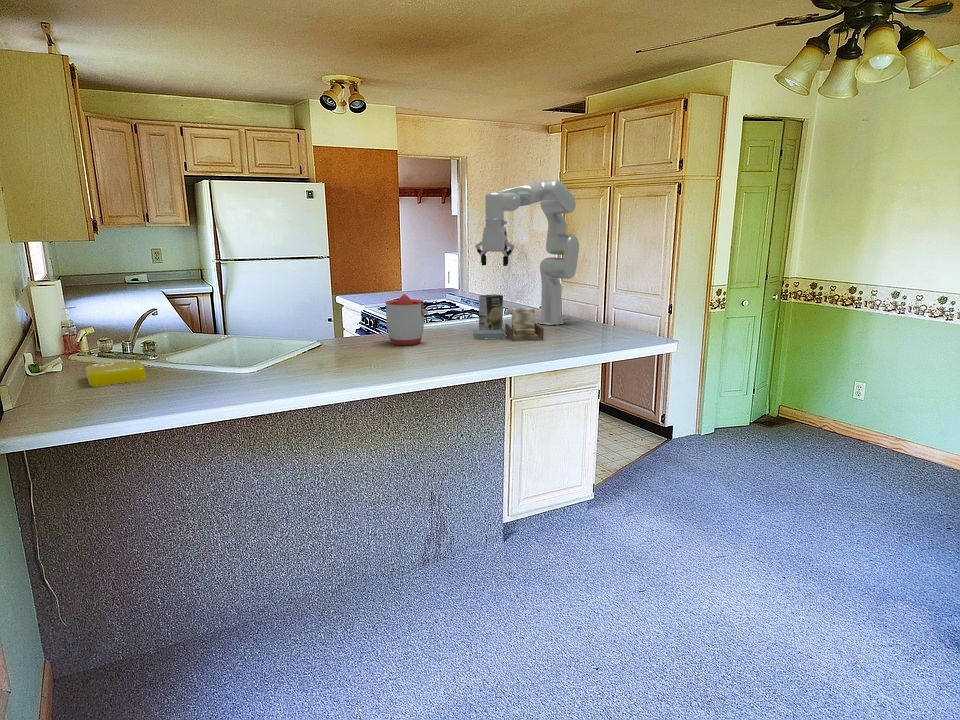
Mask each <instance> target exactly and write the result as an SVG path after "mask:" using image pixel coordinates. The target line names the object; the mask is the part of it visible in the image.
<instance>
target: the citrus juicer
mask: <svg viewBox="0 0 960 720" xmlns="http://www.w3.org/2000/svg"><path fill="white" fill-rule="evenodd" d="M384 303H385V316H386V318H385V320H386V329H387V330H386V331H387V333H388V336H389V337H388V338H389V340H390V342H391V344H393V345H395V344H396V345H395V346H399V345H401V346H402V345H403V346H415V345H416V344H419V343H421V341H422V338H423V334H424V328H425V327H424V326H425V315H426V316H429V315H430V314H429V311H428V309H425V307H424V305H425V303H424V300H420V299H411V298H410V297H409V296H408V294H405V293H403V294H402V295H401V296H400V297H399V299H391V300H386V301H385V302H384Z"/></svg>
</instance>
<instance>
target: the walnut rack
mask: <svg viewBox="0 0 960 720" xmlns="http://www.w3.org/2000/svg"><path fill="white" fill-rule="evenodd" d="M504 327H505V328H504V332H505V333H504V335H505V334H506V335H507V336H506V335H505V336H506V338H507V337H508V338H509V339H510V340H534V341H544V337H545V336H544V332H545V331H544V330H545V329H544V327H543V326H542V325H540V324H538V322H534V329H535V334H537V335H525V336H513V328H512V325H510V324H509V322H508V323H505V324H504ZM508 338H507V339H508ZM509 339H508V340H509ZM510 340H509V341H510Z"/></svg>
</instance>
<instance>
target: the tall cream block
mask: <svg viewBox="0 0 960 720" xmlns="http://www.w3.org/2000/svg"><path fill="white" fill-rule="evenodd" d="M535 313H536V312H535V308H533V307H518V308H517V307H512V308H511V327H512V328H513V334H515V329H534V323H535Z"/></svg>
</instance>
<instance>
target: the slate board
mask: <svg viewBox="0 0 960 720" xmlns="http://www.w3.org/2000/svg"><path fill="white" fill-rule="evenodd" d="M504 336H505V333H504V331H503V329H502V330H479V329H476V330H475V329H474V330H473V337H475V338H474V339H478V340H486V339H485V338H504V339H505V337H504Z"/></svg>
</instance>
